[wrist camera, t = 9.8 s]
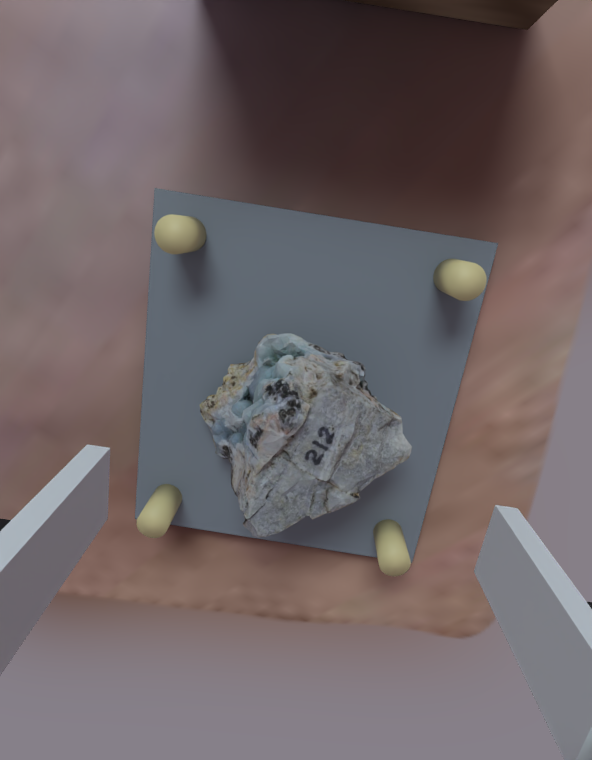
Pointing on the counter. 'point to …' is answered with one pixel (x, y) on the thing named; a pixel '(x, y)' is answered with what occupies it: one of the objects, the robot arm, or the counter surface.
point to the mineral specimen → (300, 432)
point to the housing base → (315, 325)
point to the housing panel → (475, 9)
